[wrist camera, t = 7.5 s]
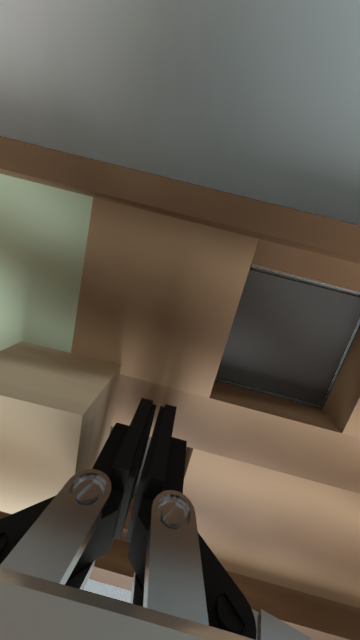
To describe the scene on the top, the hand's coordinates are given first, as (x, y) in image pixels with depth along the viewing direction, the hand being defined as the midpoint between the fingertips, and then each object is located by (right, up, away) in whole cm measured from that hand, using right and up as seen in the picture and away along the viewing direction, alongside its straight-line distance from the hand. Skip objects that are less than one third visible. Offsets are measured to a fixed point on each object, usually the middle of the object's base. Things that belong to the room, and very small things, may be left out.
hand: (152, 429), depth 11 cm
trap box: (+2, 0, +3) cm, 4 cm away
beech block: (-5, +1, +1) cm, 5 cm away
